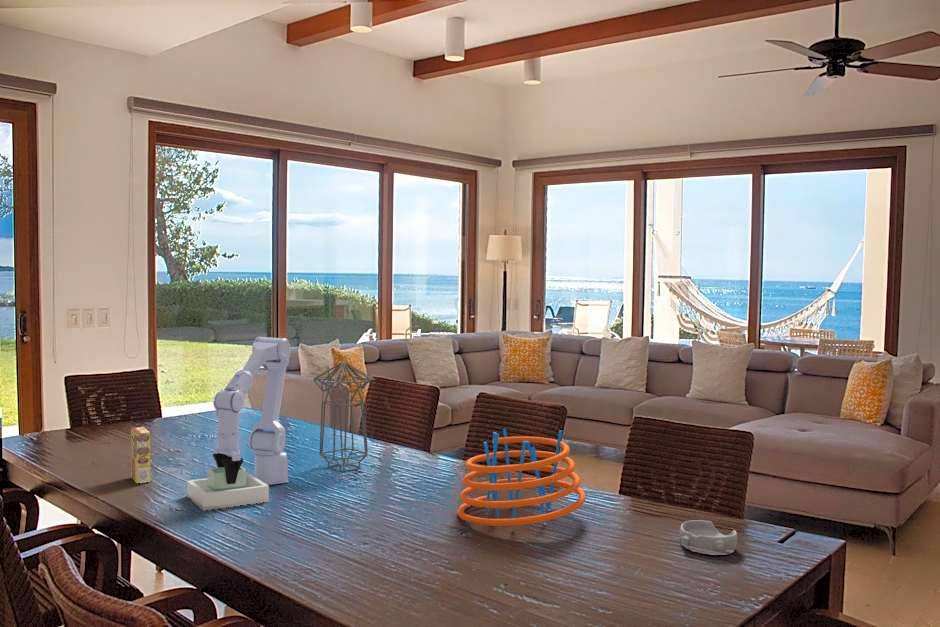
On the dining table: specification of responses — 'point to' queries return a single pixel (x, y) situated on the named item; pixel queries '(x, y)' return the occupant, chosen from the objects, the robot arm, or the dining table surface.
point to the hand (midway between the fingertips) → (227, 481)
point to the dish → (706, 536)
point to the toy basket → (520, 480)
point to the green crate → (219, 479)
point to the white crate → (227, 494)
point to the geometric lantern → (345, 410)
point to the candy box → (140, 455)
